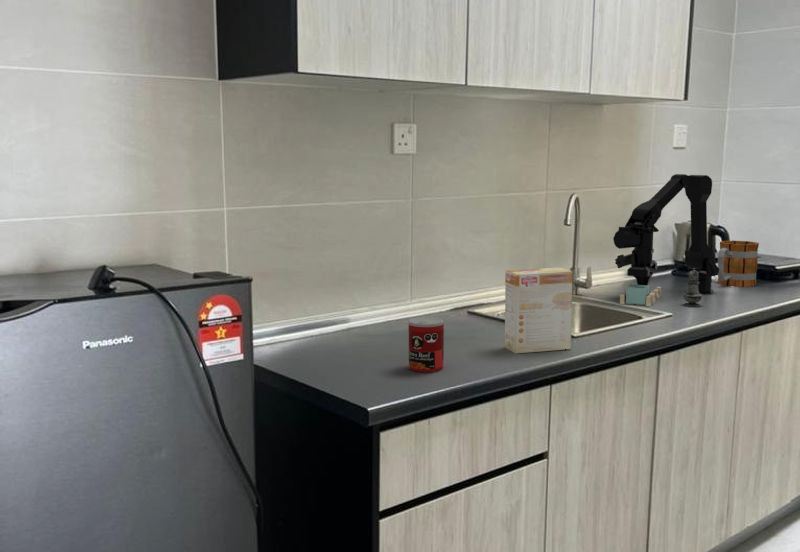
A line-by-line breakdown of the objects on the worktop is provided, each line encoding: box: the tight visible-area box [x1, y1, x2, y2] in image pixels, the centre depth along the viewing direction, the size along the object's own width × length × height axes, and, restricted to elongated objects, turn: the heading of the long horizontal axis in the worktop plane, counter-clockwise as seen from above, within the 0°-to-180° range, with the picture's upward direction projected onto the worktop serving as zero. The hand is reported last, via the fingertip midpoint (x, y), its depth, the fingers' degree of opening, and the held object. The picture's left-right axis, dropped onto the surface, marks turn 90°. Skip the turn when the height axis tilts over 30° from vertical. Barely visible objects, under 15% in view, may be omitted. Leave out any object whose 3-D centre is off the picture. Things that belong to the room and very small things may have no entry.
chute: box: [619, 286, 662, 308], centre depth 254 cm, size 20×9×3 cm, turn 153°
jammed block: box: [625, 283, 651, 305], centre depth 248 cm, size 6×6×5 cm
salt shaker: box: [682, 268, 704, 308], centre depth 244 cm, size 6×6×12 cm
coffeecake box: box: [504, 267, 573, 355], centre depth 192 cm, size 15×7×20 cm, turn 105°
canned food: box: [408, 316, 445, 373], centre depth 176 cm, size 8×8×11 cm
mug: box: [717, 240, 760, 288], centre depth 280 cm, size 20×14×15 cm
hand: (641, 294), depth 254 cm, fingers closed
